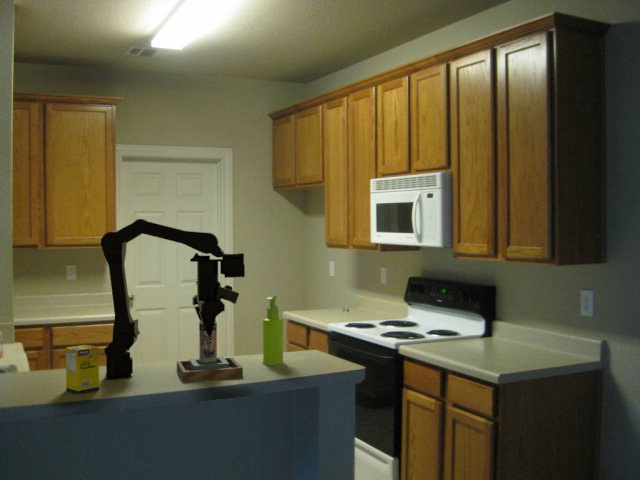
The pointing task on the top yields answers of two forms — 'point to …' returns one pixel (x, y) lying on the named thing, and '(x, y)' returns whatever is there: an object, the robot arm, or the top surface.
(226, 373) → the walnut box
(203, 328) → the beer can
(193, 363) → the bore plate
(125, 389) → the top surface
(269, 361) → the soap dispenser
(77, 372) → the supplement box
